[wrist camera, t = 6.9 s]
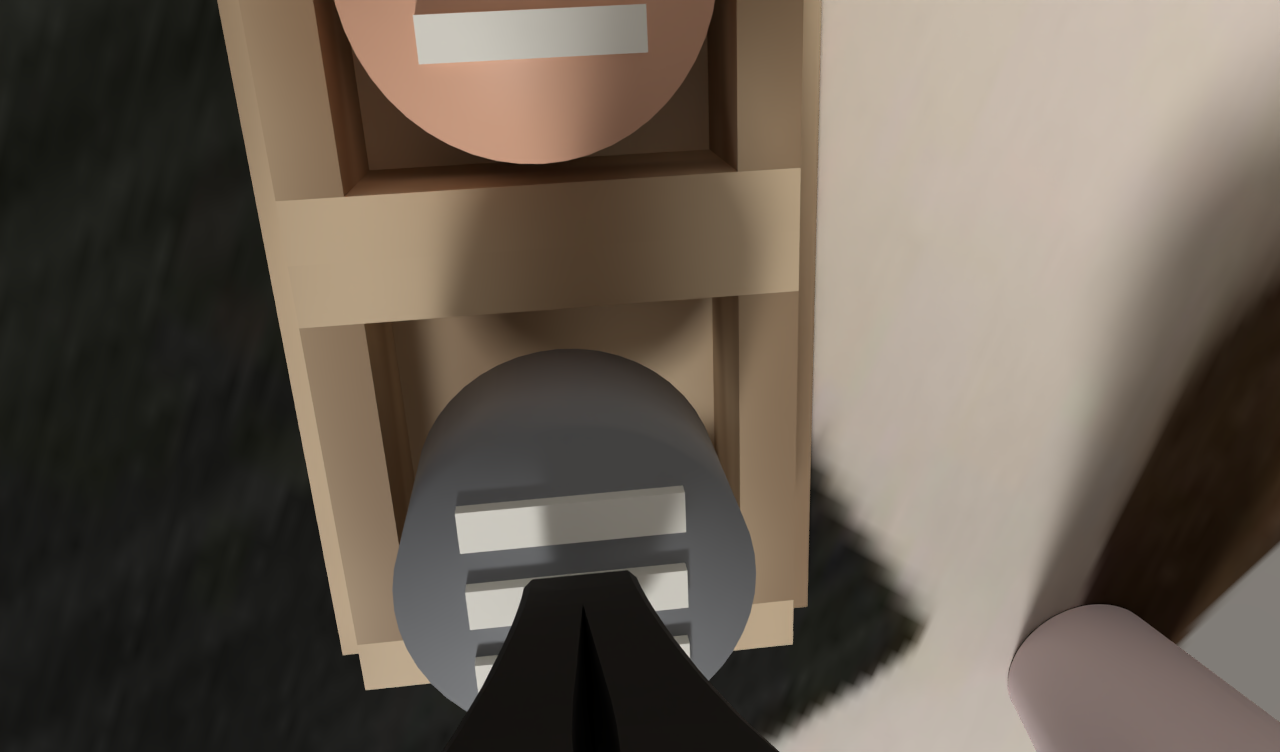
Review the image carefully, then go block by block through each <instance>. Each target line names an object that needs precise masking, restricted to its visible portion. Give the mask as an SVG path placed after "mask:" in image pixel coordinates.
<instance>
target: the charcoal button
mask: <svg viewBox="0 0 1280 752" xmlns="http://www.w3.org/2000/svg"><path fill="white" fill-rule="evenodd" d="M623 570H628V571H630V572H631V573H632V574H633V575H634V576H636V577H637V579H638V582H639V584H640V586H641V588H642V589H643V591H644V593H645V595H646V597H647V598H648V600H649V602H650V603H651V605H652V607H653V608H654V610H655V611H656V613H657V614H658V616H659V617H660V619H661V620H662V622H663V623H664V625H665V626H666V628H667V629H668V630H669V632H670V633H671V634H672V636H673V637H674V639H675V640H676V641H677V643H678V644H679V645H680V646H681V648H682V649H683V650H684V651H685V653H686V654H687V655H688V656H689V658H690V659H691V660H692V662H693V663H694V664H695V665H696V667H697V668H698V669H699V670H700V671H701V673H702V674H703V675H704V676H705V677H706V678H707V680H708V681H709V680H710V678H711V677H712V676H713V675H714V674H715V673H716V672H717V671H718V670H719V669H720V668H721V667H722V665H723V664H724V662H725V661H726V660H727V658H728V657H729V656H730V654H731V653H732V651H733V650H734V648H735V646H736V645H737V643H738V641H739V639H740V637H741V635H742V634H743V631H744V629H745V626H746V624H747V621H748V618H749V616H750V613H751V608H752V604H753V599H754V595H755V584H756V564H755V553H754V549H753V544H752V540H751V536H750V533H749V530H748V528H747V525H746V523H745V520H744V518H743V515H742V513H741V511H740V508H739V506H738V504H737V501H736V499H735V496H734V494H733V492H732V489H731V487H730V485H729V482H728V480H727V478H726V475H725V473H724V470H723V468H722V466H721V463H720V461H719V459H718V456H717V454H716V452H715V449H714V447H713V444H712V442H711V440H710V437H709V435H708V433H707V430H706V428H705V426H704V424H703V422H702V420H701V419H700V417H699V415H698V414H697V412H696V410H695V409H694V408H693V406H692V405H691V404H690V403H689V401H688V400H687V399H686V398H685V396H684V395H683V394H682V393H681V392H680V391H678V390H677V389H676V388H675V387H674V386H673V385H672V384H671V383H670V382H669V381H667V380H666V379H664V378H663V377H662V376H660V375H659V374H657V373H656V372H654V371H653V370H651V369H649V368H647V367H645V366H643V365H641V364H639V363H637V362H635V361H632V360H629V359H627V358H624V357H621V356H619V355H615V354H610V353H606V352H602V351H596V350H586V349H554V350H547V351H540V352H535V353H531V354H528V355H524V356H520V357H517V358H514V359H512V360H509V361H507V362H504V363H502V364H500V365H497V366H496V367H494V368H492V369H490V370H488V371H487V372H485V373H483V374H481V375H480V376H478V377H477V378H476V379H474V380H473V381H472V382H470V383H469V384H468V385H466V386H465V387H464V388H463V389H462V390H461V391H460V392H459V393H458V394H457V395H456V396H455V397H454V398H453V399H452V400H450V402H449V403H448V404H447V405H446V407H445V408H444V409H443V411H442V412H441V413H440V414H439V416H438V417H437V419H436V421H435V422H434V424H433V426H432V428H431V429H430V431H429V433H428V436H427V438H426V441H425V443H424V446H423V448H422V451H421V455H420V460H419V464H418V468H417V472H416V477H415V481H414V485H413V489H412V494H411V498H410V502H409V506H408V511H407V515H406V519H405V523H404V528H403V532H402V536H401V540H400V545H399V549H398V553H397V558H396V562H395V566H394V574H393V588H392V592H393V604H394V612H395V616H396V620H397V624H398V629H399V632H400V634H401V637H402V639H403V641H404V644H405V646H406V648H407V650H408V652H409V654H410V655H411V657H412V659H413V660H414V662H415V664H416V665H417V667H418V668H419V669H420V671H421V672H422V673H423V674H424V675H425V677H426V678H427V679H428V680H429V681H430V683H431V684H432V685H434V686H435V687H436V688H437V689H438V690H439V691H440V692H441V693H442V694H443V695H444V696H445V697H447V698H448V699H450V700H451V701H452V702H454V703H455V704H457V705H458V706H459V707H461V708H462V709H464V710H466V711H468V710H469V708H470V706H471V705H472V703H473V701H474V700H475V698H476V696H477V695H478V693H479V691H480V689H481V688H482V686H483V684H484V682H485V680H486V678H487V676H488V674H489V672H490V670H491V668H492V666H493V664H494V662H495V660H496V658H497V656H498V654H499V652H500V650H501V648H502V646H503V644H504V642H505V639H506V637H507V635H508V632H509V630H510V628H511V626H512V623H513V621H514V618H515V615H516V613H517V610H518V607H519V604H520V601H521V598H522V594H523V589H524V587H525V586H526V585H527V584H528V583H529V582H530V581H531V580H532V579H542V578H552V577H562V576H572V575H582V574H593V573H603V572H613V571H623Z"/></svg>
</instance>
